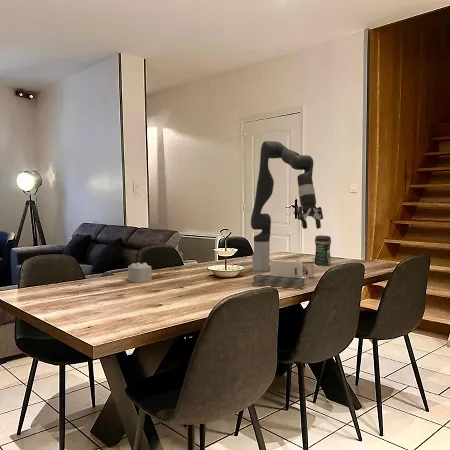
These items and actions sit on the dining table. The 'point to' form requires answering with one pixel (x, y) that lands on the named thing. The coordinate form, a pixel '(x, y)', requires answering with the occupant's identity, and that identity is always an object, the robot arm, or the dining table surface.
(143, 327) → the dining table surface
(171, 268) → the dining table surface
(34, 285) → the dining table surface
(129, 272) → the lumpy-topped squat cylinder
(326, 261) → the coffee jar
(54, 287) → the dining table surface
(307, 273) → the teacup with lid
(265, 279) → the door track
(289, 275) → the door panel
